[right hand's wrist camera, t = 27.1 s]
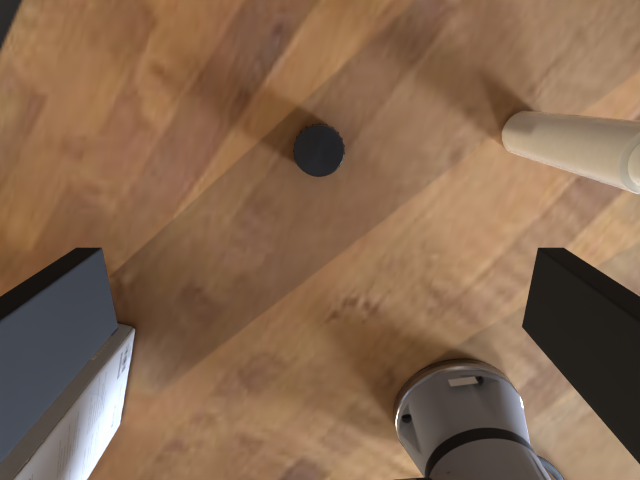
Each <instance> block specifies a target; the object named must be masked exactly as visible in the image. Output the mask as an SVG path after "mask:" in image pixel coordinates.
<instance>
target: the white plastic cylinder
mask: <svg viewBox="0 0 640 480" xmlns="http://www.w3.org/2000/svg"><path fill="white" fill-rule="evenodd" d="M502 142H503V145H504V147H505V148H506V149H507V150H508V151H509V152H511V153H513V154H516V155H519V156H522V157H525V158H528V159H531V160H534V161H537V162H540V163H543V164H547V165H550V166H553V167H556V168H559V169H562V170H565V171H568V172H571V173H574V174H577V175H580V176H584V177H587V178H590V179H593V180H596V181H599V182H602V183H605V184H608V185H611V186H614V187H617V188H621V189H624V190H627V191H630V192H633V193H636V194H640V121H633V120H623V119H612V118H602V117H591V116H580V115H570V114H559V113H548V112H538V111H521V112H518V113H516V114H514V115H513V116H512V117H511V118H509V120H508V121H507V122H506V124H505V125H504V128H503V131H502Z"/></svg>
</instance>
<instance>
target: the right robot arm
mask: <svg viewBox="0 0 640 480" xmlns="http://www.w3.org/2000/svg"><path fill="white" fill-rule="evenodd" d="M117 327H118V324H117V320H116V315H115V310H114V305H113V300H112V295H111V290H110V285H109V280H108V275H107V270H106V265H105V261H104V256H103V251H102V248H75V249H74V250H72V251H71V252H69V253H68V254H66V255H64V256H63V257H61V258H60V259H58V260H57V261H55V262H54V263H52V264H50V265H49V266H47V267H46V268H44V269H43V270H41V271H40V272H38V273H36V274H35V275H33V276H32V277H30V278H29V279H27V280H26V281H24V282H22V283H21V284H19V285H18V286H16V287H15V288H13V289H12V290H10V291H8V292H7V293H5V294H4V295H2V296H1V297H0V464H1V463H2V461H3V460H4V459H5V458H6V457H7V456H8V454H9V453H10V452H11V451H12V450H13V449H14V447H15V446H16V445H17V444H18V443H19V442H20V440H21V439H22V438H23V437H24V436H25V435H26V433H27V432H28V431H29V430H30V429H31V428H32V426H33V425H34V424H35V423H36V422H37V421H38V419H39V418H40V417H41V416H42V415H43V414H44V412H45V411H46V410H47V409H48V408H49V407H50V405H51V404H52V403H53V402H54V401H55V400H56V398H57V397H58V396H59V395H60V394H61V393H62V391H63V390H64V389H65V388H66V387H67V386H68V384H69V383H70V382H71V381H72V380H73V379H74V377H75V376H76V375H77V374H78V373H79V372H80V370H81V369H82V368H83V367H84V366H85V365H86V363H87V362H88V361H89V360H90V359H91V358H92V356H93V355H94V354H95V353H96V352H97V351H98V349H99V348H100V347H101V346H102V345H103V344H104V342H105V341H106V340H107V339H108V338H109V337H110V335H111V334H112V333H113V332H114V331H115V330H116V328H117ZM522 327H523V328H524V330H525V331H526V332H527V333H528V334H529V335H530V337H531V338H532V339H533V340H534V341H535V342H536V344H537V345H538V346H539V347H540V348H541V349H542V351H543V352H544V353H545V354H546V355H547V356H548V358H549V359H550V360H551V361H552V362H553V363H554V365H555V366H556V367H557V368H558V369H559V370H560V372H561V373H562V374H563V375H564V376H565V377H566V379H567V380H568V381H569V382H570V383H571V384H572V386H573V387H574V388H575V389H576V390H577V391H578V393H579V394H580V395H581V396H582V397H583V398H584V400H585V401H586V402H587V403H588V404H589V405H590V407H591V408H592V409H593V410H594V411H595V412H596V414H597V415H598V416H599V417H600V418H601V419H602V421H603V422H604V423H605V424H606V425H607V426H608V428H609V429H610V430H611V431H612V432H613V433H614V435H615V436H616V437H617V438H618V439H619V440H620V442H621V443H622V444H623V445H624V446H625V447H626V449H627V450H628V451H629V452H630V453H631V454H632V456H633V457H634V458H635V459H636V460H637V461H638V463H639V464H640V297H639V296H638V295H636V294H635V293H633V292H632V291H630V290H628V289H627V288H625V287H624V286H622V285H621V284H619V283H618V282H616V281H614V280H613V279H611V278H610V277H608V276H607V275H605V274H604V273H602V272H600V271H599V270H597V269H596V268H594V267H593V266H591V265H590V264H588V263H586V262H585V261H583V260H582V259H580V258H579V257H577V256H576V255H574V254H572V253H571V252H569V251H568V250H566V249H565V248H538V251H537V256H536V261H535V265H534V270H533V275H532V280H531V285H530V290H529V295H528V300H527V305H526V310H525V315H524V320H523V324H522ZM393 414H394V422H395V427H396V431H397V435H398V438H399V440H400V442H401V444H402V445H403V447H404V448H405V450H406V451H407V453H408V454H409V456H410V457H411V459H412V460H413V462H414V463H415V465H416V466H417V468H418V469H419V470H420V472H421V473H422V475H423V476H424V478H410V479H396V480H551V479H550V477H549V475H548V474H547V472H546V470H545V469H544V468H546V469H547V470H548V471H549V472H550V473H551V474H552V475H553V476H554V478H555V479H556V480H564V479H563V477H562V476H561V474H560V473H559V472H558V471H557V469H556V468H555V467H554V466H553V465H552V464H551V463H549V462H548V461H547V460H545V459H544V458H542V457H540V456H537V455H536V454H535V452H534V450H533V449H532V447H531V445H530V441H529V436H528V431H527V426H526V420H525V415H524V410H523V404H522V401H521V398H520V396H519V394H518V392H517V391H516V389H515V388H514V386H513V385H512V383H511V382H510V380H509V379H508V378H507V377H506V376H505V375H504V374H503V373H502V372H501V371H500V370H498V369H497V368H495V367H493V366H491V365H489V364H486V363H484V362H480V361H475V360H467V359H457V360H449V361H444V362H440V363H437V364H434V365H431V366H429V367H427V368H425V369H423V370H422V371H420V372H418V373H417V374H416V375H414V376H413V377H412V378H411V379H409V380H408V382H407V383H406V384H405V385H404V386H403V387H402V389H401V390H400V392H399V394H398V396H397V398H396V401H395V405H394V411H393Z"/></svg>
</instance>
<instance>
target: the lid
mask: <svg viewBox="0 0 640 480" xmlns="http://www.w3.org/2000/svg"><path fill="white" fill-rule="evenodd" d="M342 140H343V139H342V138H341V137H340V135H339V132H337V131H336V130H334V128H333V127H330V126H328V125H327V124H326V125H324V124H320V123H319V124H312V125H310V126H308V127H307V126H306V128H305V129H304V130H303V131H302V130H301V132H300V134H299V136H297V137H296V142H295V143H294V151H293V152H294V157H295V158H294V159H295V160H296V162H297V164H298V166H299V167H300V168H301V169H302V170H303V171H304V172H305V173H307V174H309V175H312V176H317V177H322V176H326V175H329V174H331V173H333V172H334V171H335V170H337V168H338V167H339V166H340V165H341V163H342V161H343V157H344V154H345V152H344V147H345V146H344V144H343V142H342Z"/></svg>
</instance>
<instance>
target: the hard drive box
mask: <svg viewBox="0 0 640 480" xmlns="http://www.w3.org/2000/svg"><path fill="white" fill-rule="evenodd" d="M117 324H118V327H117V328H116V330H115V331H114V332H113V333H112V334H111V335H110V337H109V338H108V339H107V340H106V341H105V342H104V344H103V345H102V346H101V347H100V348H99V349H98V351H97V352H96V353H95V354H94V355H93V356H92V358H91V359H90V360H89V361H88V362H87V363H86V365H85V366H84V367H83V368H82V369H81V370H80V372H79V373H78V374H77V375H76V376H75V377H74V379H73V380H72V381H71V382H70V383H69V384H68V386H67V387H66V388H65V389H64V390H63V391H62V393H61V394H60V395H59V396H58V397H57V398H56V400H55V401H54V402H53V403H52V404H51V405H50V407H49V408H48V409H47V410H46V411H45V412H44V414H43V415H42V416H41V417H40V418H39V419H38V421H37V422H36V423H35V424H34V425H33V426H32V428H31V429H30V430H29V431H28V432H27V433H26V435H25V436H24V437H23V438H22V439H21V440H20V442H19V443H18V444H17V445H16V446H15V447H14V449H13V450H12V451H11V452H10V453H9V454H8V456H7V457H6V458H5V459H4V460H3V461H2V463H1V464H0V480H87V479H88V477H89V475H90V474H91V472H92V471H93V469H94V467H95V466H96V464H97V462H98V461H99V459H100V457H101V456H102V454H103V452H104V451H105V449H106V447H107V446H108V444H109V442H110V441H111V439H112V437H113V436H114V434H115V432H116V430H117V429H118V427H119V425H120V420H121V413H122V408H123V402H124V395H125V389H126V384H127V377H128V371H129V365H130V360H131V355H132V348H133V341H134V334H135V329H134V328H132V326H127V325H124V324H119V323H117Z"/></svg>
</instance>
